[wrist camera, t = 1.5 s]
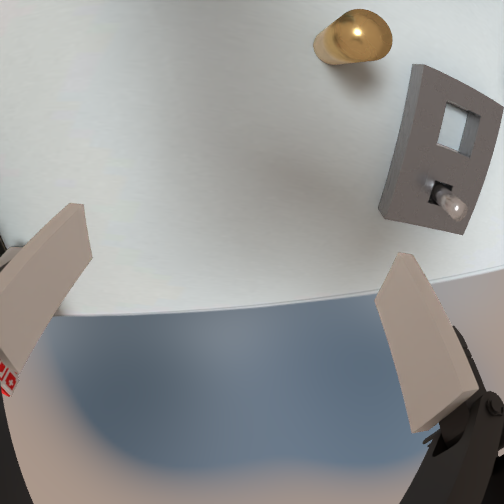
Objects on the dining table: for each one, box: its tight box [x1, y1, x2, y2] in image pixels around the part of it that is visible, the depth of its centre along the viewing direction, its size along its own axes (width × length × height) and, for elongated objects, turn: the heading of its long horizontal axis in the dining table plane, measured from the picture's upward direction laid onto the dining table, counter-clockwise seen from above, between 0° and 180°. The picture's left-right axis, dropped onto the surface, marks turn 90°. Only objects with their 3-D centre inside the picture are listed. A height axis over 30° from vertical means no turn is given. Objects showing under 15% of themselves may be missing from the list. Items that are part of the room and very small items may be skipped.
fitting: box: [313, 9, 392, 65], centre depth 20 cm, size 4×4×12 cm
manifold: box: [378, 64, 504, 235], centre depth 27 cm, size 20×14×8 cm
